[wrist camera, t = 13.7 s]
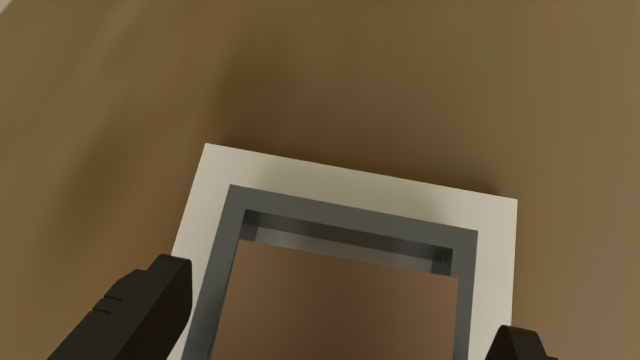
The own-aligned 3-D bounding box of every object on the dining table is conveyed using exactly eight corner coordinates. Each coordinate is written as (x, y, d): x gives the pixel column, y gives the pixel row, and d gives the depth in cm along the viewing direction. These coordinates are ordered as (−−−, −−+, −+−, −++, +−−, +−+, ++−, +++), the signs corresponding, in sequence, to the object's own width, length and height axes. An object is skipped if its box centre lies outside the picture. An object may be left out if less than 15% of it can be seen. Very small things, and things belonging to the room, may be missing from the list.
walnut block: (399, 296, 17) (458, 278, 9) (386, 406, 16) (442, 487, 8) (277, 274, 17) (239, 239, 10) (255, 380, 16) (191, 434, 8)
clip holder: (503, 208, 20) (553, 177, 15) (480, 576, 15) (540, 676, 11) (213, 155, 21) (184, 111, 16) (115, 485, 16) (40, 544, 12)
